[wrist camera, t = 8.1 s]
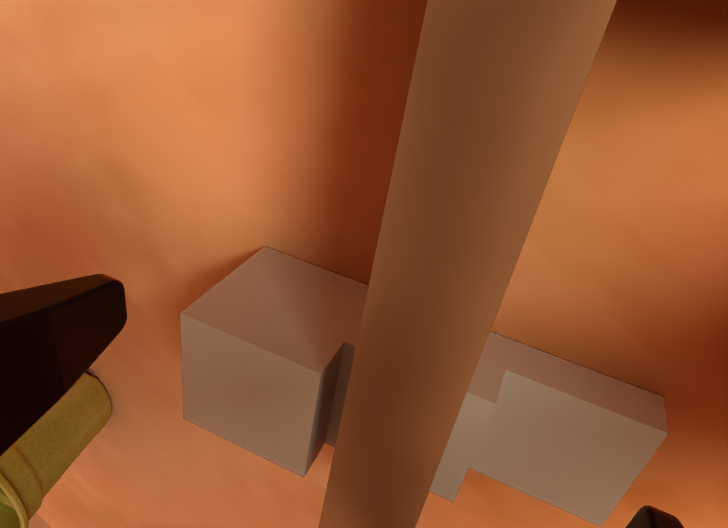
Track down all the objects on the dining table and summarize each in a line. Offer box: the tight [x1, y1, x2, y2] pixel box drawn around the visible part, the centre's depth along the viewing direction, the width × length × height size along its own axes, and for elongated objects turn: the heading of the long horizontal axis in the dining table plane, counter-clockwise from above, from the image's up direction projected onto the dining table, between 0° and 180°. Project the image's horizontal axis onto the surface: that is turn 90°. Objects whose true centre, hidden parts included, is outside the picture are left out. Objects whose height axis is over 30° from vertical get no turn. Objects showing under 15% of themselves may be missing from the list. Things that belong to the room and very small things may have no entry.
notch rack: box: [180, 246, 669, 527], centre depth 22 cm, size 18×6×6 cm, turn 81°
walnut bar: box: [319, 0, 617, 528], centre depth 15 cm, size 4×28×3 cm, turn 171°
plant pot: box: [0, 373, 112, 528], centre depth 34 cm, size 9×9×9 cm
